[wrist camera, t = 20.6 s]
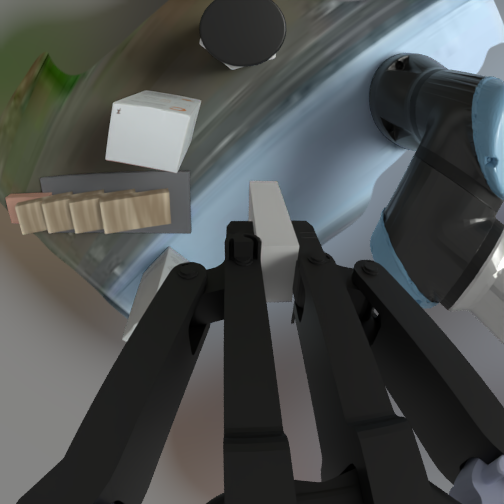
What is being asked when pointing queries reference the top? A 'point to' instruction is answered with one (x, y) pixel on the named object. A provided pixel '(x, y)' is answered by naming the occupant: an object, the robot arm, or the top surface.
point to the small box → (152, 130)
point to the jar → (242, 31)
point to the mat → (140, 182)
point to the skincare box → (151, 286)
